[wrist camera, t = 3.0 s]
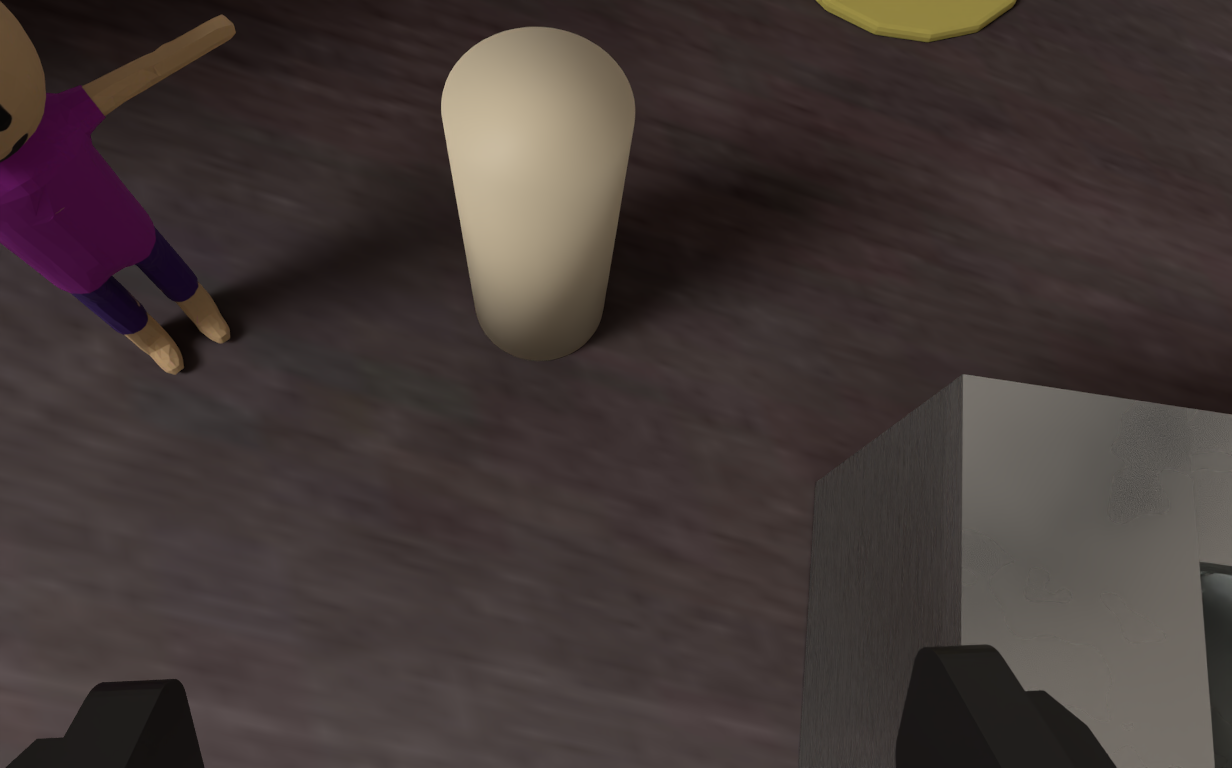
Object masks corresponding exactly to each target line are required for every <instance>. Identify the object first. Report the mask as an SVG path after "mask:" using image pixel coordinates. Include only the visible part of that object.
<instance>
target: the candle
mask: <svg viewBox="0 0 1232 768" xmlns="http://www.w3.org/2000/svg"><path fill="white" fill-rule="evenodd" d="M816 1H817V2H818V3H819V4H820V5H821V6H822V7H823V8H824V9H825V10H826V11H828V12H830V13H832V14H834V15H836V16H838V17H840V18H842V19H844V20H846V21H848V22H850V23H852V24H855V25H857V26H859V27H861V28H863V29H865V30H867V31H869V32H871V33H873V34H875V35H882V36H889V37H896V38H902V39H909V40H916V41H923V42H932V41H937V40H941V39H946V38H951V37H956V36H961V35H966V34H971V33H976V32H978V31H979V30H981V29H982V28H984V27H985V26H986V25H988V24H989V23H991V22H992V21H994V20H995V19H996V18H998V17H999V16H1001V15H1002V14H1003V13H1005V12H1006V11H1008V10H1009V9H1011V8H1012V7H1013V6H1014V4H1015V3H1016V1H1017V0H816Z"/></svg>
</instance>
